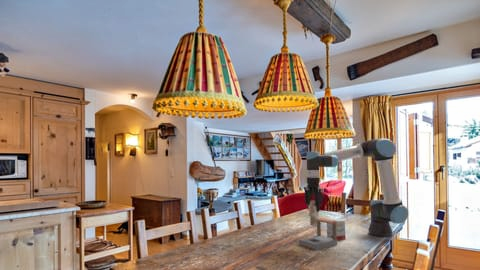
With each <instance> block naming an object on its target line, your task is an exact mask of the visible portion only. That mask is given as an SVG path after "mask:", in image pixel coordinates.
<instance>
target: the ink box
mask: <svg viewBox="0 0 480 270" xmlns="http://www.w3.org/2000/svg"><path fill="white" fill-rule="evenodd" d="M330 219H331V220H336V221H337V223H336V233H337V241H341V240H346V221H345V220H343V219H339V218H330ZM326 237H328V238H332V239H333V230H332V224H329V223H326Z"/></svg>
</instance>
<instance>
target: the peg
mask: <svg viewBox="0 0 480 270" xmlns="http://www.w3.org/2000/svg"><path fill="white" fill-rule="evenodd" d="M309 219H310V221H309V223H310V224H309V225H310V226H313V227H317V217H315V200H312V201H310V216H309Z"/></svg>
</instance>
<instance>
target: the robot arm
mask: <svg viewBox="0 0 480 270" xmlns="http://www.w3.org/2000/svg"><path fill="white" fill-rule="evenodd" d="M396 148H397V147H396V145H395V143H394V142H393V141H392V140H391V139H388V138H375V139H369V140H366V141H363V142H360V143H356V144H355V145H354V146H350V147H346V148H341V149H336V150H332V151H328V152H325V153H321V154H320V152H319V151H307V152H306V158H305V159H306V160H305V161H306V177H307V178H306V184H307V185H306V186H304V187H303V190H304V203H305V204H307V210H308V217H310V201H313V198H314V201H315V217H319V216H320V215H319V214H320V206H323V192H324V188H323V187H322V188H321V186H320V183H321V180H320V168H335V167H337V166H338V164H339V162H343V161H346V160H351V159H355V158H358V159H360V158H361V159H362V158H373V161H374V162H375V163H376V165H377V169H378V170H377V171H378V175H379V176H378V177H379V179H380V185H381V191H382V195H383V199H375V200H374V199H373V200H371V201H370V204H369V209H370V210H369V211H370V224H369V227H368V230H367V231H368V234H369V235H370V236H374V237H381V238H383V237H384V238H390V237H393V236H394V231H393V229H392V227H391V224H390V223H393V224H398V225H400V224H403V223H405V222H406V221H407V219H408V217H409V209H408V208H407V207H406V206H405V205H404V204H403V200H402V199H400V197H399V193H398V188H397V182H396V178H395V172H394V169H393V162H392V161H393V160H394V155H395V154H396V152H397V149H396Z"/></svg>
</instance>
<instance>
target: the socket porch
mask: <svg viewBox="0 0 480 270" xmlns="http://www.w3.org/2000/svg"><path fill="white" fill-rule="evenodd" d="M331 219H332V218H325V217H317V226H316V235H313V236H308V237H304V238H299V239H298V245H299V246H302V247H305V248H309V249H312V250H316V251H319V250H323V249H326V248H331V247H336V246H338V240H337V233H336V223H337V221H336V220H331ZM322 223H324V224H327V223H329V224H332V230H333V239H332V238H328V237H327V236H325V235H322V234H321V233H322V232H321V231H322V230H321V227H322V225H321V224H322Z"/></svg>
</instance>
